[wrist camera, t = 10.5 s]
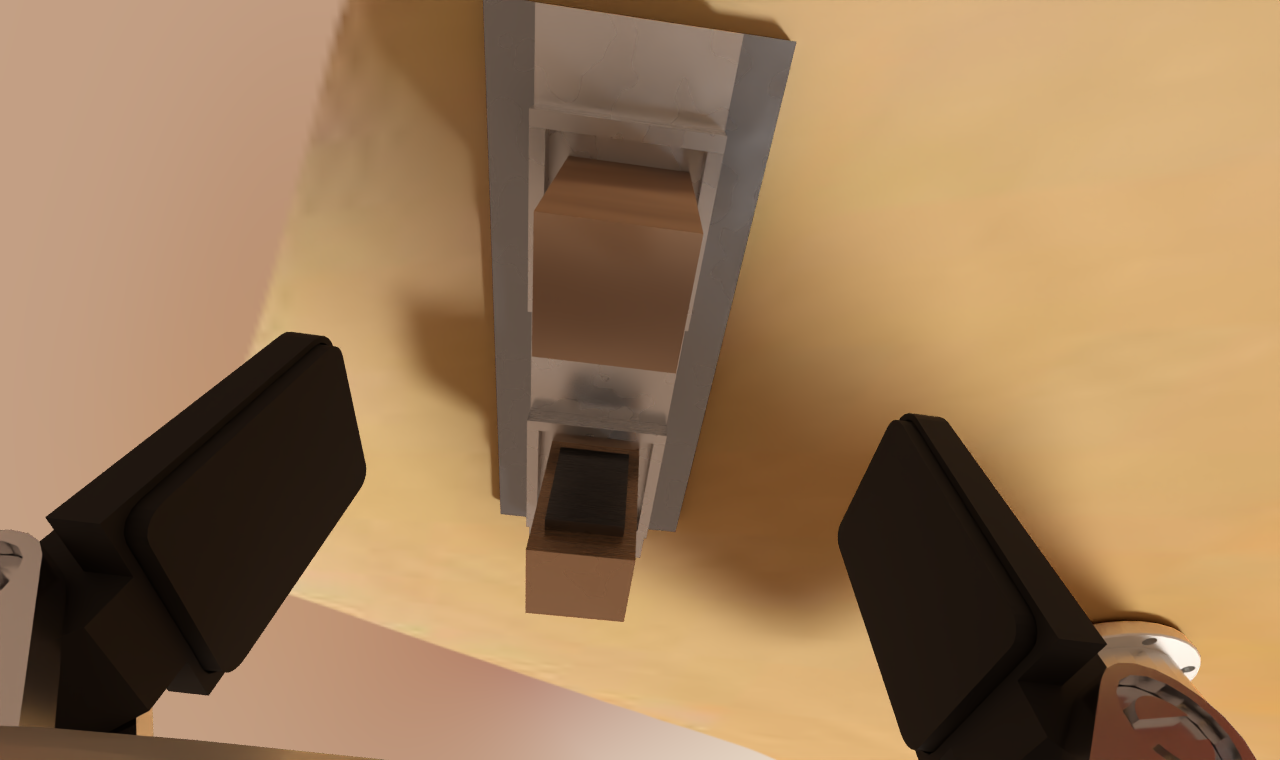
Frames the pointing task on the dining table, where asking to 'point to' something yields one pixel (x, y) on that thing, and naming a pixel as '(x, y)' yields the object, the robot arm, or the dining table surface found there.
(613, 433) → the rail
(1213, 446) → the dining table surface
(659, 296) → the brown rectangular block
